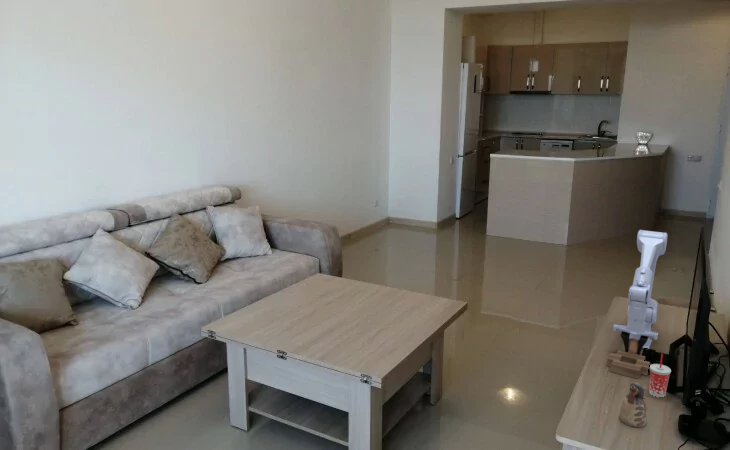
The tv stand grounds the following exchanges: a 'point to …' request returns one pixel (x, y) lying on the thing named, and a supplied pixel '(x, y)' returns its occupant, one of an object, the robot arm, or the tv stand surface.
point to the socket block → (628, 364)
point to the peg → (633, 346)
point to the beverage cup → (659, 379)
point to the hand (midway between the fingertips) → (632, 353)
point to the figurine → (634, 407)
